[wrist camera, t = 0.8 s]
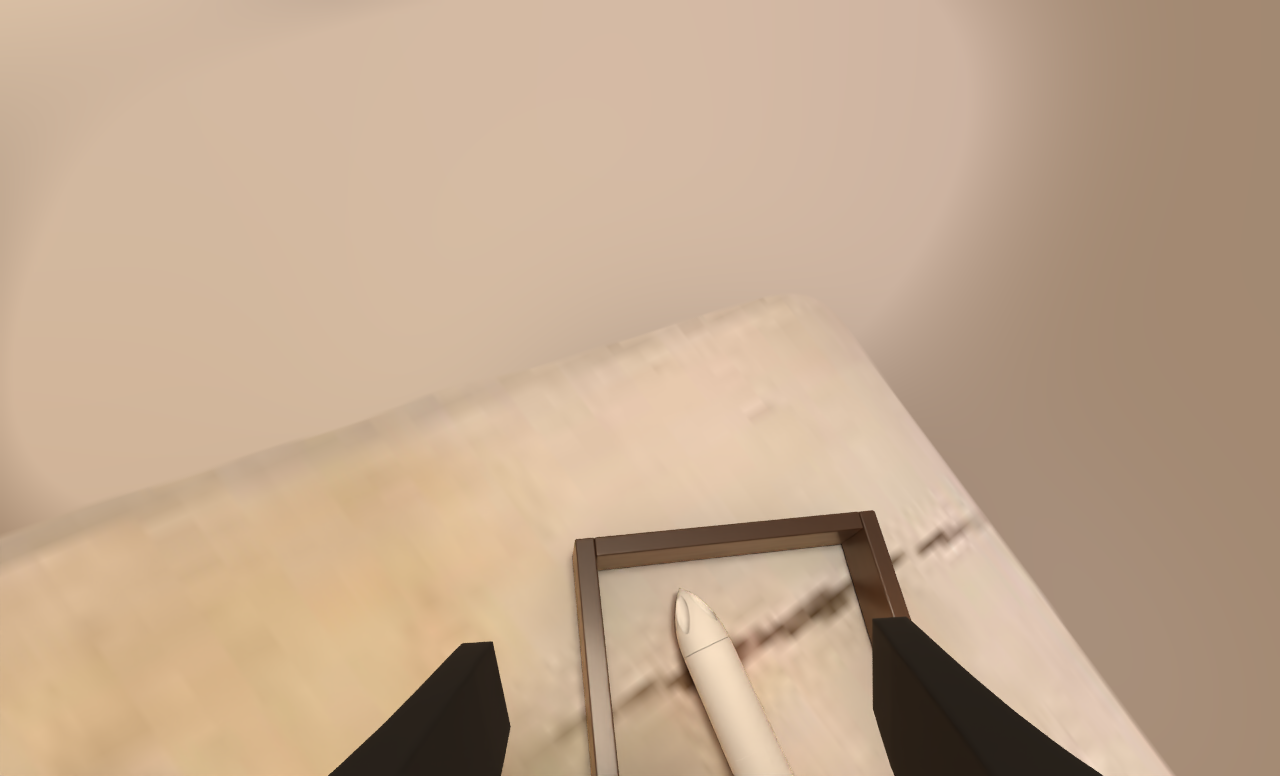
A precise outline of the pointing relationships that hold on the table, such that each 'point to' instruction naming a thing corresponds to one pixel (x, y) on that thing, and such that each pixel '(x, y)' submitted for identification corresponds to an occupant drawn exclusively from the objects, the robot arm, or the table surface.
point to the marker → (726, 691)
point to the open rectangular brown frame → (639, 549)
